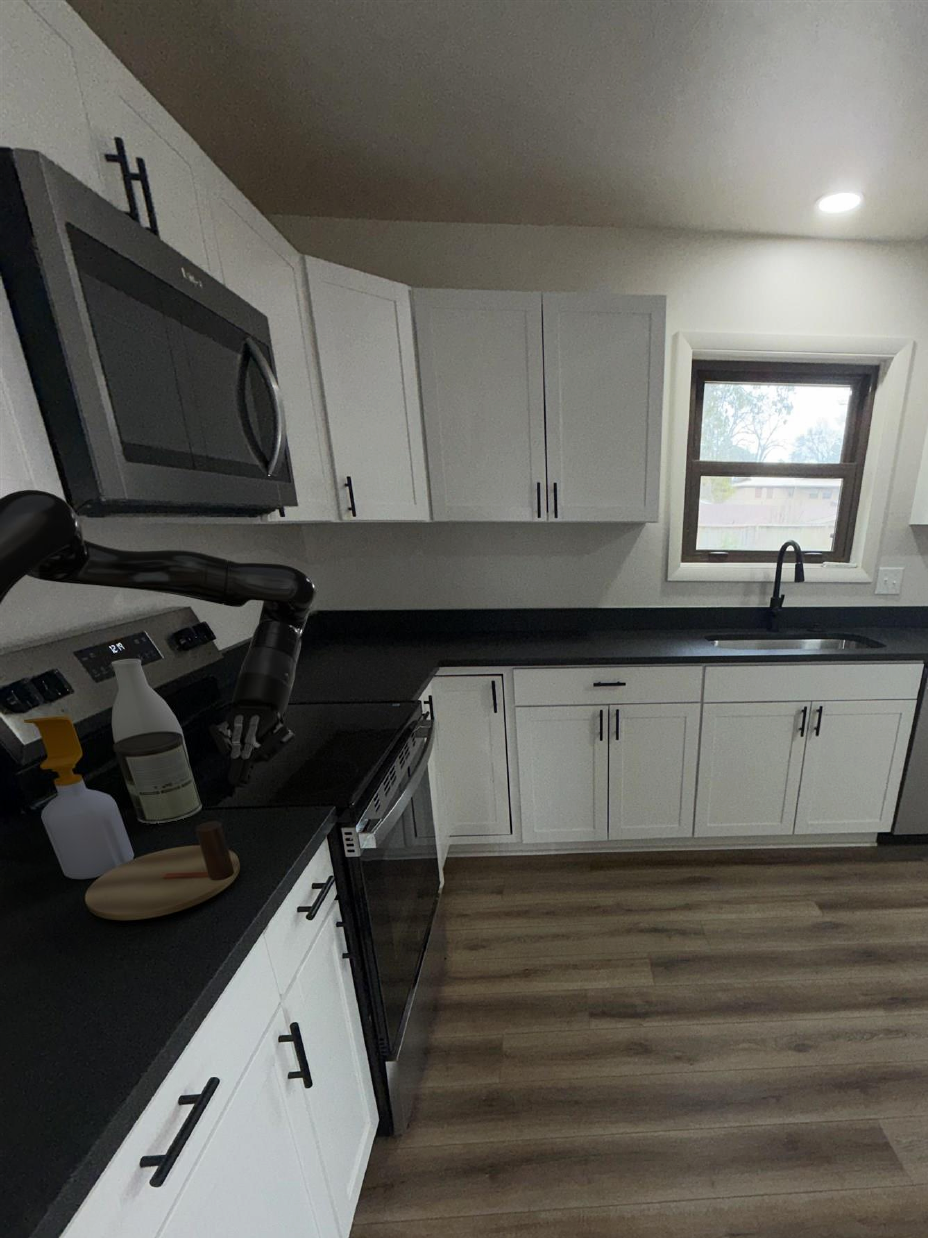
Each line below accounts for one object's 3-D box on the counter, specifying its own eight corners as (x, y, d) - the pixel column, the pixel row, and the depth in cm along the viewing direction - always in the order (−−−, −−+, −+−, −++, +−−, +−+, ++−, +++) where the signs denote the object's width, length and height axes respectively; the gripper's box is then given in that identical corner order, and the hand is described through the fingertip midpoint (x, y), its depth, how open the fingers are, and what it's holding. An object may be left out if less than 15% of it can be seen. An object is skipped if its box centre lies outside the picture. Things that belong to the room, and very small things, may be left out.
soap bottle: (56, 886, 95) (-9, 728, 85) (73, 858, 103) (15, 710, 92) (128, 873, 98) (73, 720, 88) (139, 847, 106) (90, 703, 96)
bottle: (156, 803, 122) (114, 670, 111) (118, 793, 126) (74, 664, 115) (209, 781, 131) (175, 657, 120) (172, 773, 135) (136, 652, 124)
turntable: (105, 865, 98) (86, 812, 94) (244, 841, 105) (231, 791, 101) (69, 934, 82) (44, 874, 78) (235, 901, 89) (219, 844, 85)
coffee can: (122, 822, 114) (97, 748, 108) (169, 798, 123) (147, 729, 117) (172, 827, 112) (148, 752, 106) (215, 803, 121) (195, 732, 116)
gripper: (317, 696, 104) (293, 796, 98) (239, 694, 105) (210, 793, 99) (294, 671, 97) (266, 777, 91) (210, 669, 98) (177, 774, 91)
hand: (237, 785), depth 95 cm, fingers closed
